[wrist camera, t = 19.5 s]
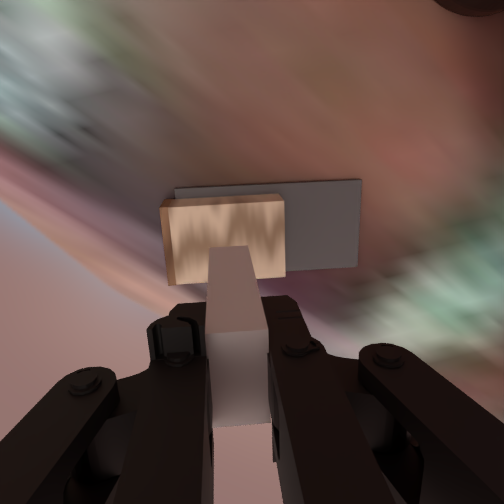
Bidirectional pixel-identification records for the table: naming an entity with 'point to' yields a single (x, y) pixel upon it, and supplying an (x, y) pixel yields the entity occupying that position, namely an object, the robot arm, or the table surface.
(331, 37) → the table surface
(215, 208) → the slab
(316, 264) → the mat
